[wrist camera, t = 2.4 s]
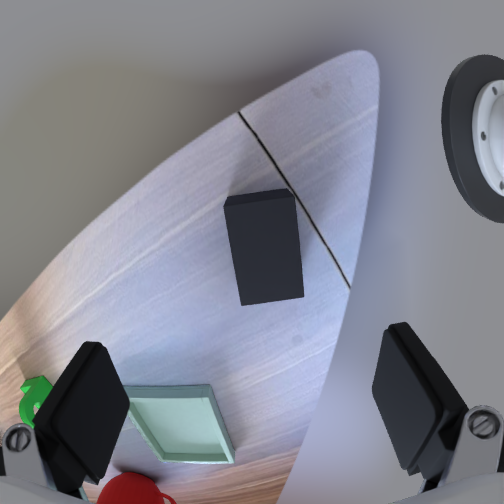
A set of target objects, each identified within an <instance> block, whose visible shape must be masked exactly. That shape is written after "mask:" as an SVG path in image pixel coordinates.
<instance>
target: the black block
mask: <svg viewBox="0 0 504 504" xmlns="http://www.w3.org/2000/svg"><path fill="white" fill-rule="evenodd" d="M224 213H225V219H226V224H227V230H228V236H229V241H230V247H231V253H232V258H233V264H234V269H235V274H236V280H237V285H238V291H239V296H240V301H241V306H245V305H252V304H260V303H267V302H274V301H281V300H288V299H295V298H302V297H304V287H303V275H302V263H301V253H300V242H299V232H298V223H297V214H296V205H295V197H294V195H293V194H292V193H291V192H290V191H289V190H288V189H287V188H286V189H278V190H271V191H263V192H256V193H249V194H243V195H236V196H230V197H227V199H226V202H225V204H224Z"/></svg>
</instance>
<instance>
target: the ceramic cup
mask: <svg viewBox="0 0 504 504" xmlns="http://www.w3.org/2000/svg"><path fill="white" fill-rule="evenodd" d="M163 497H164V498H167V499H168V500H169V501H170V502H171V504H176V502H175V501H174V499H172V498H171V497H170V496H168V495H166V494H163V493H161V492H160V491H159V489H158V488H157V486H156V485H155V483H154V481H152V480H151V479H149V478H148V477H145V476H143V475H140V474H137V473H132V472H125V473H123V474H121V475H118V476H116V477H114V478H113V479H111V480H110V481H109V482H108V483H107V484H106V485H105V487H104V488H103V490H102V492H101V494H100V496H99V498H98V501H97V504H165V503H164V499H163Z"/></svg>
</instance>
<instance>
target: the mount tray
mask: <svg viewBox="0 0 504 504" xmlns="http://www.w3.org/2000/svg"><path fill="white" fill-rule="evenodd" d="M123 387H124V389H125V391H126V393H127V395H128V398H129V400H130V407H129V410H128V413H127V414H128V416H129V418H130V419H131V421H132V422H133V424H134V425H135V427H136V428H137V430H138V431H139V433H140V434H141V436H142V437H143V439H144V440H145V441H146V443H147V444H148V446H149V447H150V448H151V450H152V451H153V453H154V454H155V455H156V457H157V458H158V459H159V461H160V462H172V463H199V464H217V463H235V451H234V448H233V446H232V443H231V441H230V438H229V436H228V433H227V430H226V428H225V425H224V422H223V420H222V417H221V414H220V411H219V409H218V406H217V403H216V400H215V397H214V395H213V392H212V389H211V386H210V385H195V386H123Z"/></svg>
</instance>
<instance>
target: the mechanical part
mask: <svg viewBox="0 0 504 504" xmlns="http://www.w3.org/2000/svg"><path fill="white" fill-rule="evenodd" d="M52 388H53V386H52V385H51V384H50V383H49V382H48V381H47V379H46V378H45V377H44V376H40V377H37V378H33V379H29V380H26V381H25V382H24V383H23V385H22V386H21V387H20V389H21V390H22V391H23V392H24V393H25V395H24V396H23V398H22V399H21V401H20V404H19V413H20V417H21V419H22V421H23V423H26V424H28V425H30V426H31V427H32V428H34V426H35V425H34V423H33V422H32V420H33V418H34V416H35V414H34V411H33V407H34V405H35V406H36V407H37V408H38V409H39V408H40V407H41V405H42V404H43V402H44V400H45V399H46V397H47V396H48V394H49V393H50V391H51V390H52Z"/></svg>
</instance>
